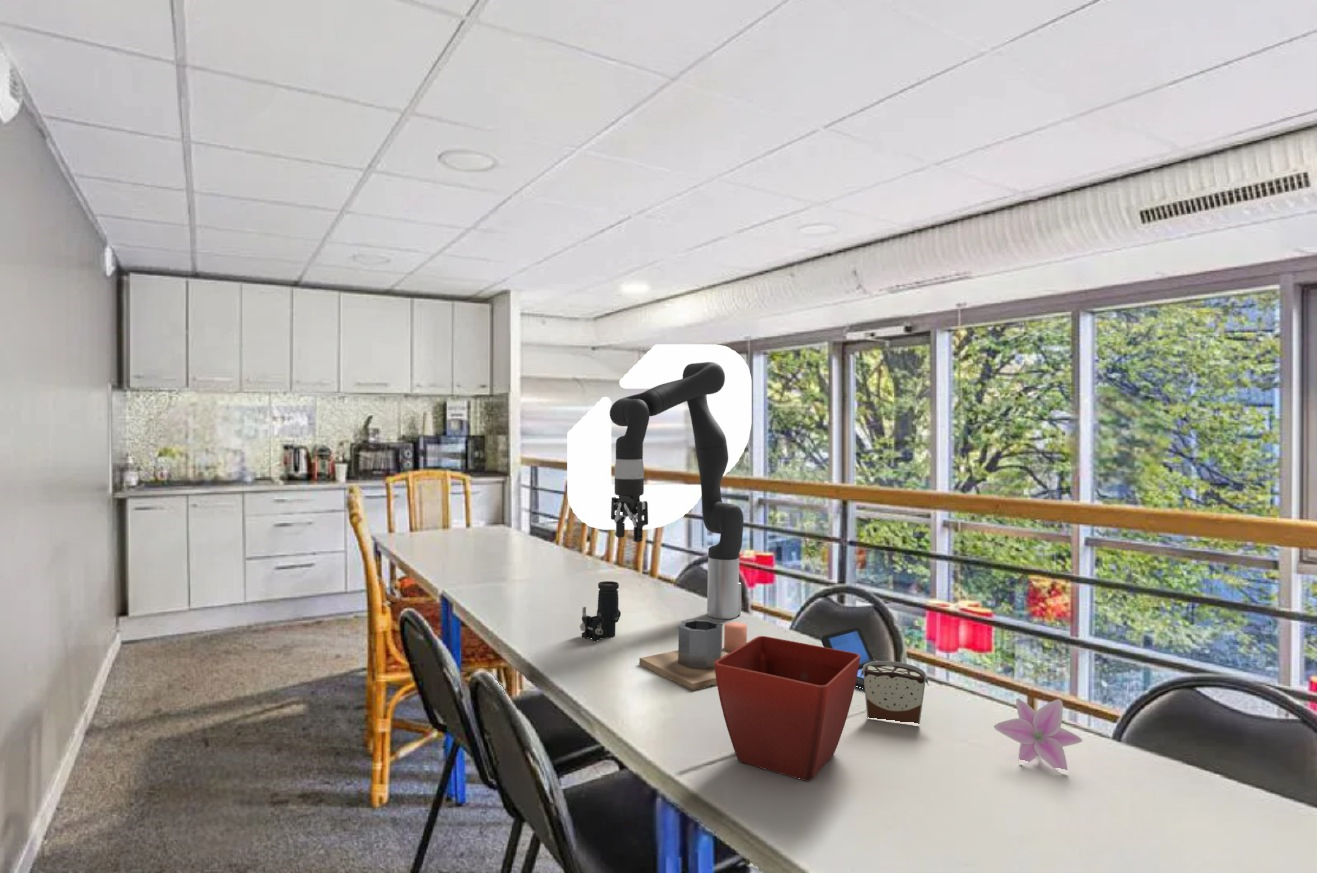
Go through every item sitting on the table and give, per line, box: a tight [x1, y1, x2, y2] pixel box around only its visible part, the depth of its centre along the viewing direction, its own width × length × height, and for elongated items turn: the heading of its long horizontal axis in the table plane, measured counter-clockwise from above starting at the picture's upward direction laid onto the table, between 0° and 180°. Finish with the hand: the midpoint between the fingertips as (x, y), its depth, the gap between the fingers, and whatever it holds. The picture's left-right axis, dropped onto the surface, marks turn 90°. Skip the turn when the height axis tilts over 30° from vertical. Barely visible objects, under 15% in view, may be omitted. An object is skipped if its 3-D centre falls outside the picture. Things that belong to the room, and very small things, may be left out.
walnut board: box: [638, 649, 730, 691], centre depth 165 cm, size 20×20×2 cm
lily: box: [993, 697, 1084, 770], centre depth 122 cm, size 12×12×10 cm
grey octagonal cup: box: [677, 619, 723, 670], centre depth 165 cm, size 10×10×8 cm
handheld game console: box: [820, 626, 877, 690], centre depth 162 cm, size 16×13×9 cm
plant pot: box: [714, 635, 860, 781], centre depth 120 cm, size 19×19×17 cm
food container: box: [860, 660, 930, 724], centre depth 139 cm, size 12×6×10 cm, turn 71°
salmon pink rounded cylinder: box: [723, 622, 748, 653], centre depth 180 cm, size 6×6×6 cm
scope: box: [579, 580, 622, 642], centre depth 189 cm, size 8×14×10 cm
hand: (628, 539), depth 186 cm, fingers open, 8 cm apart
